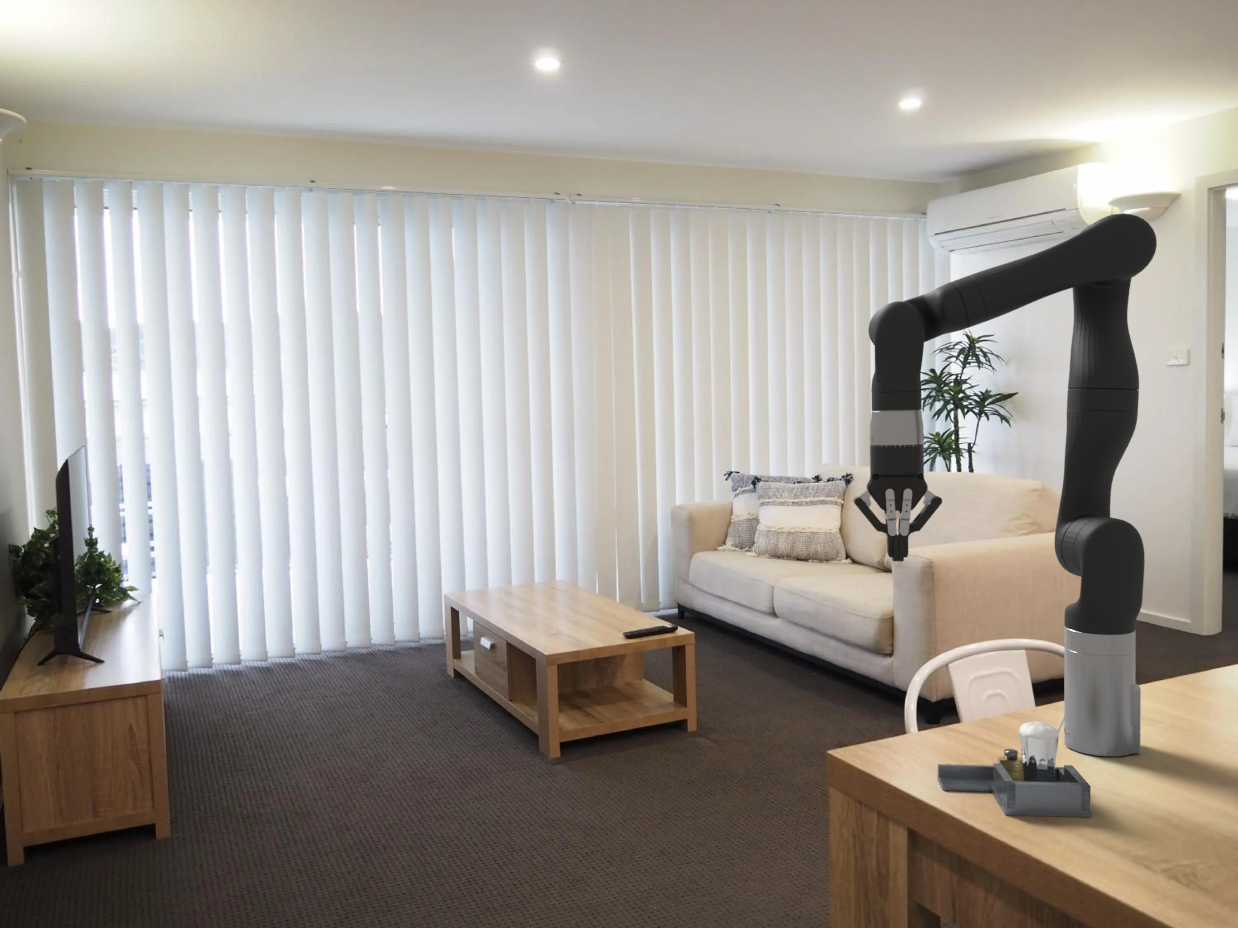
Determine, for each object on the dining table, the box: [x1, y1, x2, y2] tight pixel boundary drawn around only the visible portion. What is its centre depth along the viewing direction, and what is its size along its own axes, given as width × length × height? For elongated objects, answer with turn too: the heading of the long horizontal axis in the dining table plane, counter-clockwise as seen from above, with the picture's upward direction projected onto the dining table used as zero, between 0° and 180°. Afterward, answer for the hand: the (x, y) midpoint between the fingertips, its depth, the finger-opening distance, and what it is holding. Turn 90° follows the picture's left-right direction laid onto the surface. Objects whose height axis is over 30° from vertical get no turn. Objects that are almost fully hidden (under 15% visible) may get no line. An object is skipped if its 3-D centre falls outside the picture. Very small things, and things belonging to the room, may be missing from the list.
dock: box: [937, 763, 1093, 818], centre depth 131 cm, size 16×12×4 cm
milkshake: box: [1018, 716, 1066, 782], centre depth 129 cm, size 4×5×10 cm
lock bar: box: [997, 748, 1024, 782], centre depth 134 cm, size 6×2×4 cm, turn 82°
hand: (897, 560), depth 152 cm, fingers closed
